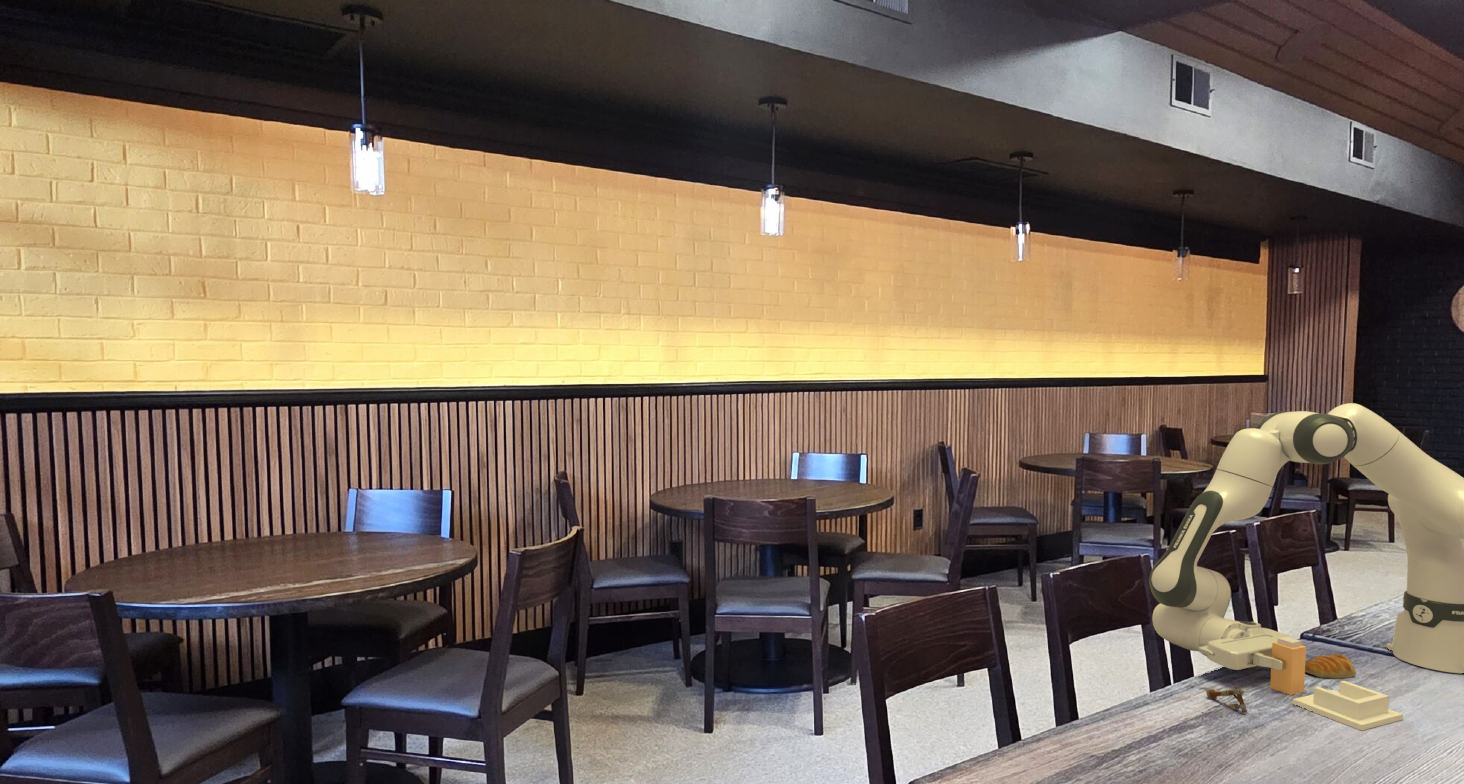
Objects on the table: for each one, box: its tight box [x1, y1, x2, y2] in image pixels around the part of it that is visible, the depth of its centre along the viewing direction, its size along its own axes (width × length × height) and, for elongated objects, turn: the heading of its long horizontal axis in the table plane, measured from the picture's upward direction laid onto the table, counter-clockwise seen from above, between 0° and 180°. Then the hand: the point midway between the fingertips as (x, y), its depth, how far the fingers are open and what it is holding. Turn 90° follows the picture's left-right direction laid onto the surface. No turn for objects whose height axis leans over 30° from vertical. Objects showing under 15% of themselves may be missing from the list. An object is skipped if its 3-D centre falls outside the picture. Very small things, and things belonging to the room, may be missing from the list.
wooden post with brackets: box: [1205, 685, 1248, 714], centre depth 159 cm, size 2×8×4 cm, turn 16°
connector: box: [1269, 637, 1307, 696], centre depth 168 cm, size 4×4×10 cm
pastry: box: [1305, 653, 1357, 680], centre depth 177 cm, size 9×7×4 cm
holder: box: [1292, 680, 1404, 732], centre depth 158 cm, size 12×12×4 cm
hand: (1293, 663), depth 167 cm, fingers open, 4 cm apart
